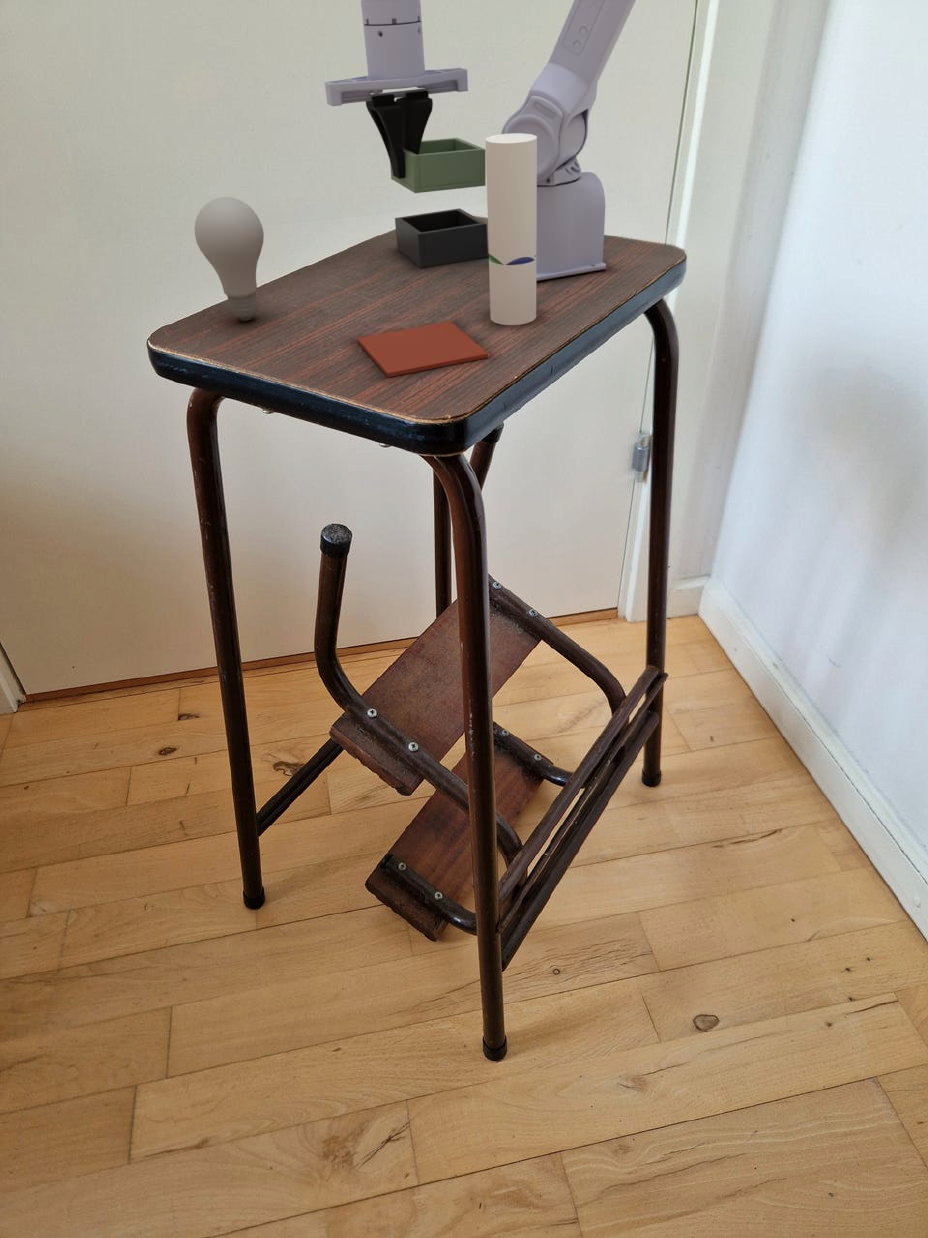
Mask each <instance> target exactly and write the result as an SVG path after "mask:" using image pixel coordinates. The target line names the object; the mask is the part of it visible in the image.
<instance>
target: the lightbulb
mask: <svg viewBox="0 0 928 1238" xmlns="http://www.w3.org/2000/svg"><path fill="white" fill-rule="evenodd" d="M194 237H195V243H196V244H197V246H198V248H199V250H200V252H201V253H202V255H203V256H204V258H205V259H206V261H207V262H208V263H209V264H210V265H211V266H212V268H213V269H214V271H215V273H216V275H217V276H218V279H219V281H220V284H221V287H222V290H223V294H224V295H226V297H227V300H228V305H229V309H230V311H231V315H232V316H233V317H235V318H236V319H237V318H238V319H239V320H240V321H243V322H246V321H250V320H252V319H253V317H254V316H255V315H257V314H258V312H259V309H258V300H257V294H256V292H257V291H258V285H257V269H258V268H257V267H258V263H259V259H260V256H261V253H262V249H263V246H264V237H265V235H264V229H263V224H262V222H261V220H260V218H259V216H258V214H257V212H256V211H254V209H253V208H252V207H251V206H250V205H249V204H248V203H245V202H244V201H242V200H240V199H237V198H236V197H229V196H219V197H216V198H214V199H211V200H210V201H208V202H207V203H205V205H203V206H202V208H200V210H199V212H198V214H197V215H196V219H195V221H194Z"/></svg>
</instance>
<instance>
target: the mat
mask: <svg viewBox="0 0 928 1238" xmlns="http://www.w3.org/2000/svg"><path fill="white" fill-rule="evenodd" d="M356 340H357V344H359V346H360V347H361V348H362V349H363V351H364V352H365V353H366V354H367V355H368V356H369V357H370V358H371V359H372V361H373V362H374V363H375V364H376V365H377V367H379V369H380V370H381V371H382V372H383V374H384V375H385V376H386V377H387V378H394V377H397V376H403V375H408V374H412V373H417V372H422V371H427V370H433V369H438V368H443V367H448V366H452V365H458V364H463V363H467V362H472V361H477V360H482V359H487V358H489V357H488V356H489V353H488V352H487V351H486V350H484V349H483V348H482V346H480V345H479V344H478V343H477V342H475V341H474V340H473V339H472V338H471V337H469V335H467V334H466V333H465V332H464V331H462V330H461V329H460V328H459V327H458V326H457V325H455V324H454V323H453V322H452V321H450V320H447V321H442V322H436V323H431V324H425V325H421V326H415V327H410V328H404V329H399V330H398V329H397V330H393V331H388V332H383V333H377V334H371V335H366V336H361V337H357V338H356Z"/></svg>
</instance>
